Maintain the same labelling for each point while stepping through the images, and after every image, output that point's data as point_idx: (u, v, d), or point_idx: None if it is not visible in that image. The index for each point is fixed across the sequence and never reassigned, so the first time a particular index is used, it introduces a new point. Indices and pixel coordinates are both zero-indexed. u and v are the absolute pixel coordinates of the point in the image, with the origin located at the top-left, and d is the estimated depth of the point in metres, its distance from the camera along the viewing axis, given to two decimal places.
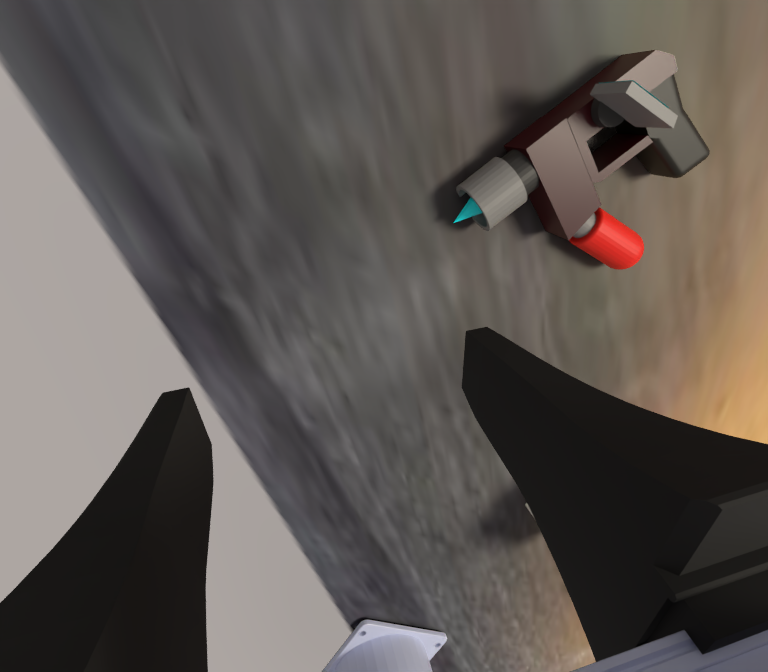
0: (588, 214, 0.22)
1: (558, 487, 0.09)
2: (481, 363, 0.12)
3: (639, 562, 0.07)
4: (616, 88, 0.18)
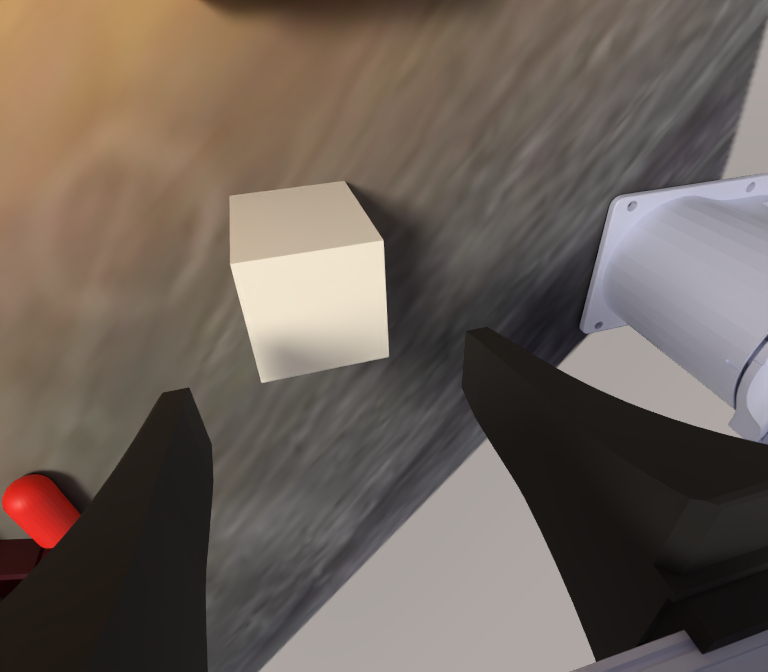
0: None
1: (558, 487, 0.09)
2: (481, 363, 0.12)
3: (639, 562, 0.07)
4: None
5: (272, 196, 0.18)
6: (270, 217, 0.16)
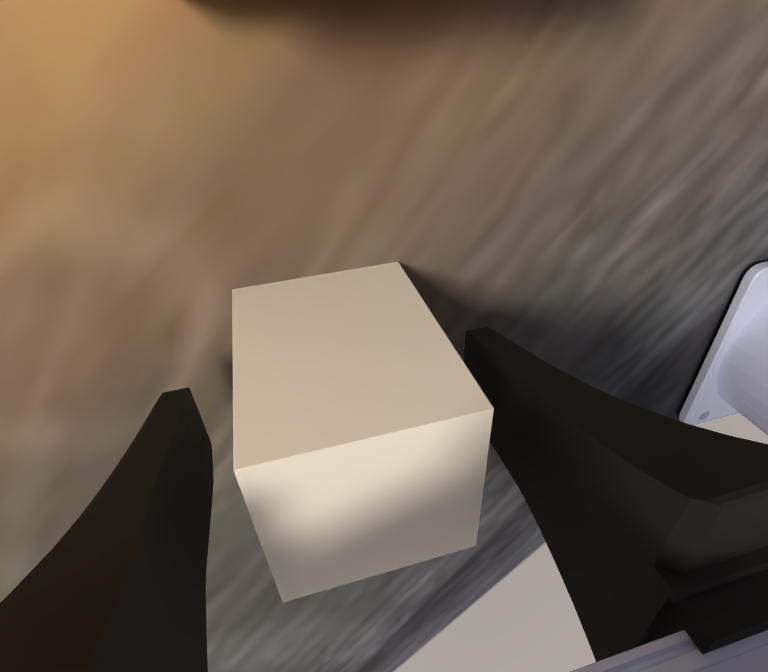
0: None
1: (558, 487, 0.09)
2: (481, 363, 0.12)
3: (639, 562, 0.07)
4: None
5: (296, 291, 0.12)
6: (296, 341, 0.10)
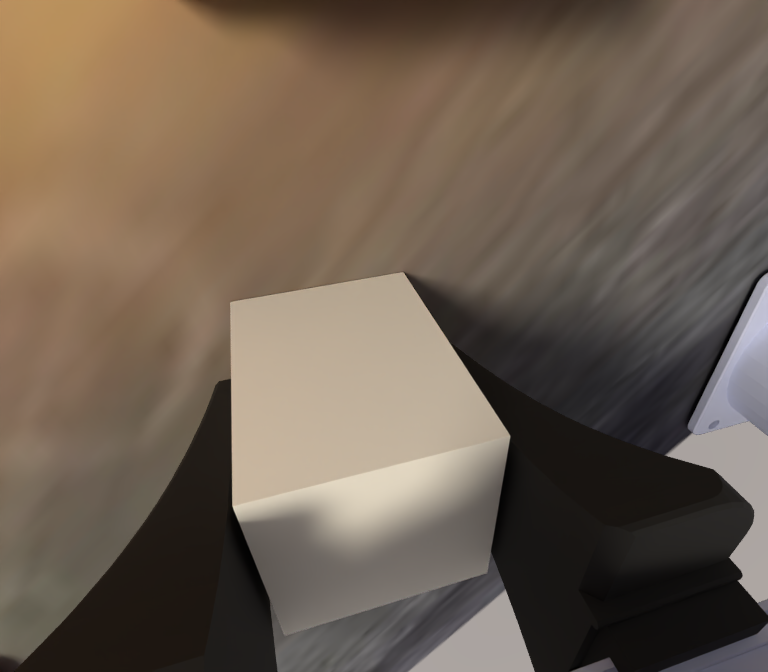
0: None
1: (500, 503, 0.09)
2: None
3: (567, 586, 0.07)
4: None
5: (297, 305, 0.11)
6: (298, 360, 0.10)
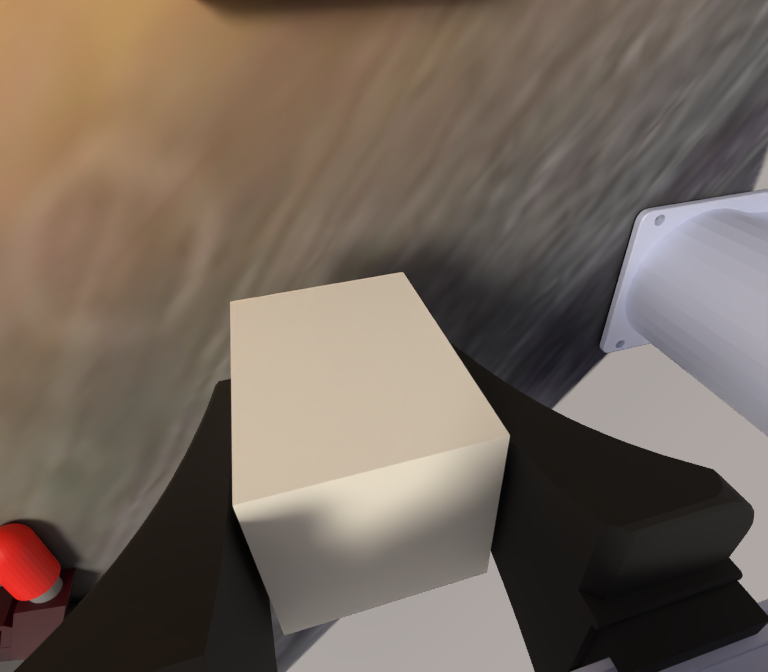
0: (32, 612, 0.23)
1: (500, 503, 0.09)
2: None
3: (567, 586, 0.07)
4: None
5: (297, 304, 0.11)
6: (298, 359, 0.10)
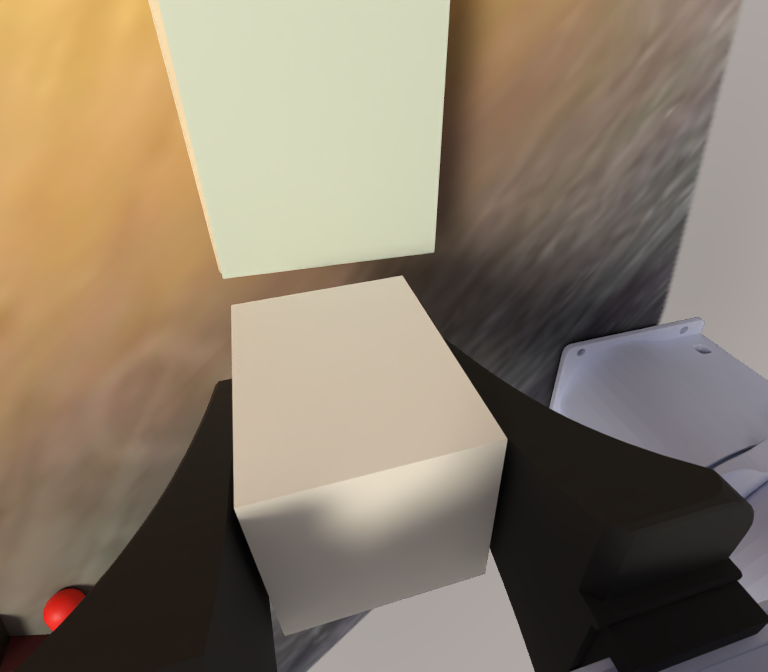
0: None
1: (500, 503, 0.09)
2: None
3: (567, 585, 0.07)
4: None
5: (298, 308, 0.11)
6: (298, 363, 0.10)
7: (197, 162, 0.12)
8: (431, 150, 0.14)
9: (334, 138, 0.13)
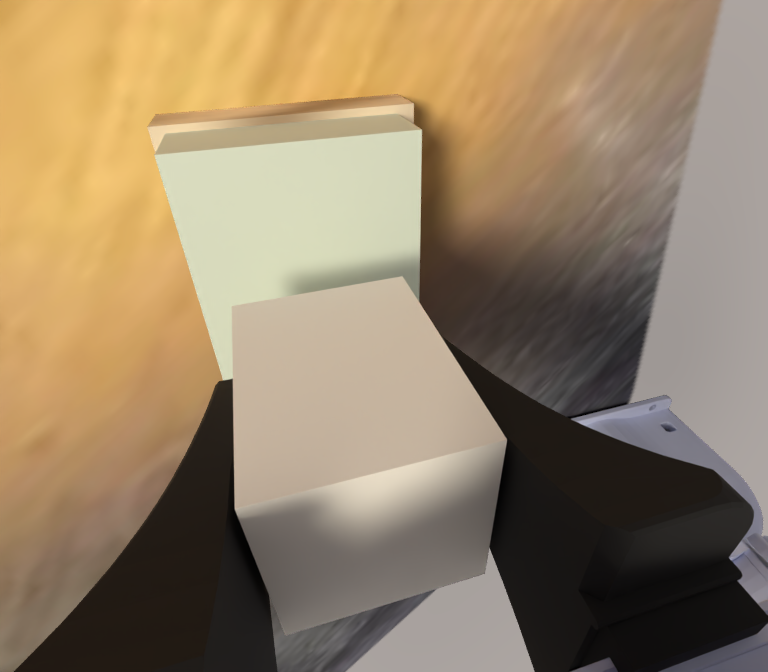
0: None
1: (500, 503, 0.09)
2: None
3: (567, 586, 0.07)
4: None
5: (298, 309, 0.11)
6: (299, 364, 0.10)
7: (218, 359, 0.15)
8: None
9: None
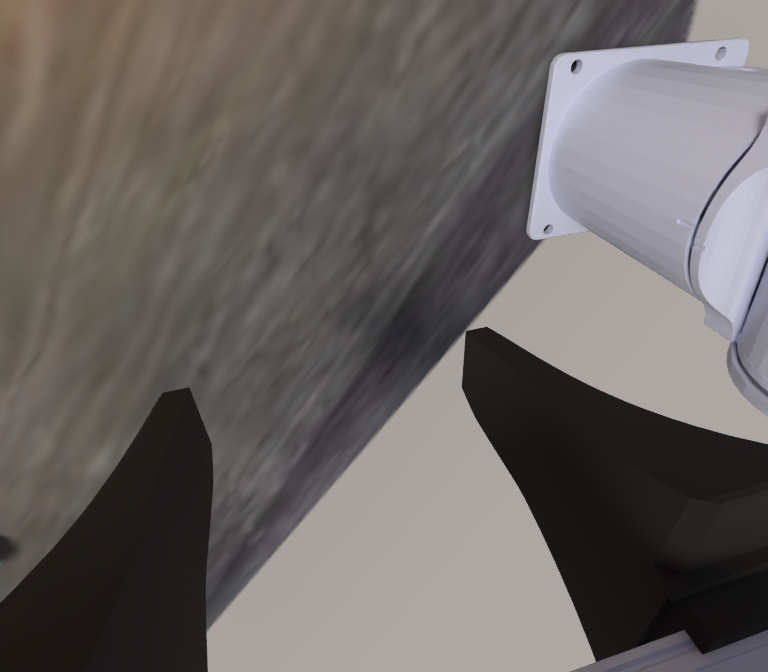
0: None
1: (558, 487, 0.09)
2: (481, 363, 0.12)
3: (639, 562, 0.07)
4: None
5: None
6: None
7: None
8: None
9: None
